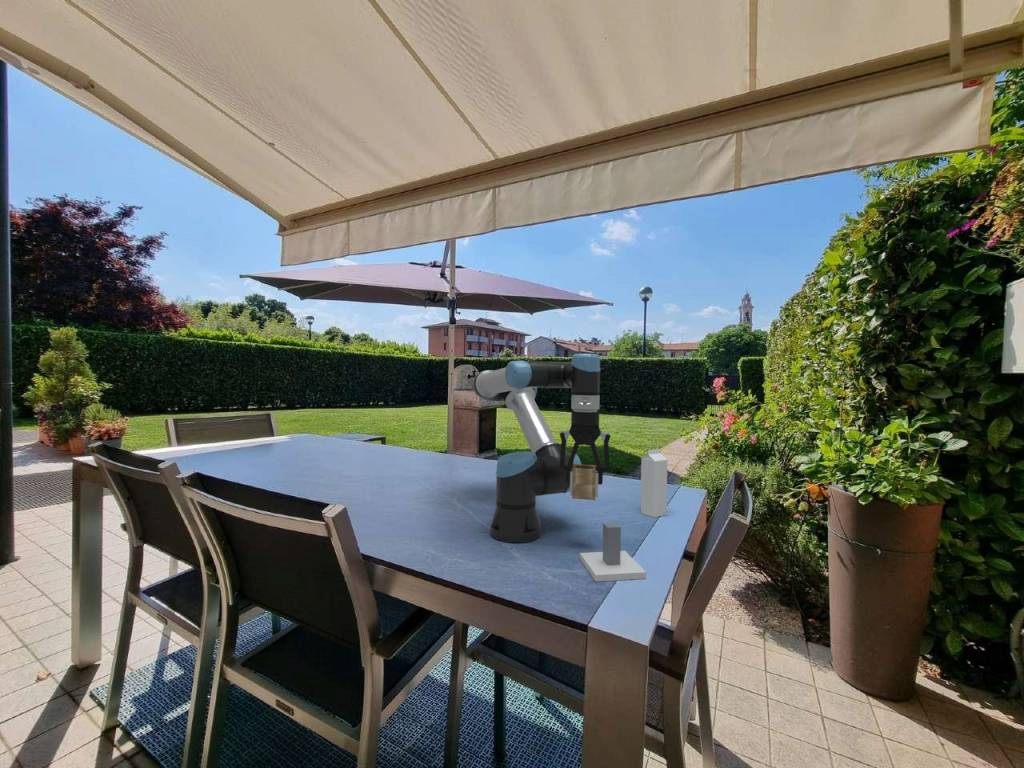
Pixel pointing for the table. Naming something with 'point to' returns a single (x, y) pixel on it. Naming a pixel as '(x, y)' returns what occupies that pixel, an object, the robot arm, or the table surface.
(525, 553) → the table surface
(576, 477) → the collar
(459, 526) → the table surface
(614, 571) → the post board
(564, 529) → the table surface
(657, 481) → the milk
